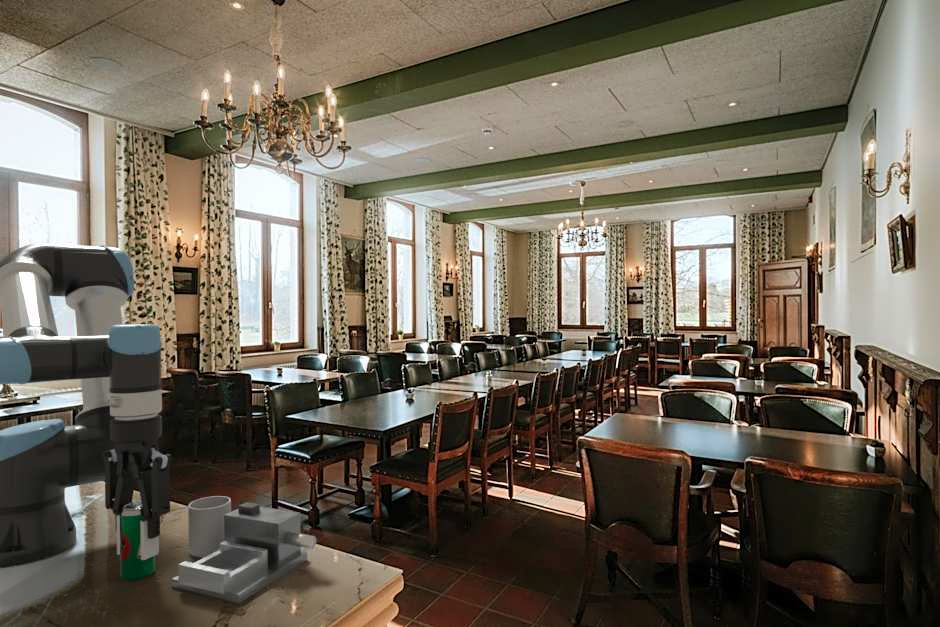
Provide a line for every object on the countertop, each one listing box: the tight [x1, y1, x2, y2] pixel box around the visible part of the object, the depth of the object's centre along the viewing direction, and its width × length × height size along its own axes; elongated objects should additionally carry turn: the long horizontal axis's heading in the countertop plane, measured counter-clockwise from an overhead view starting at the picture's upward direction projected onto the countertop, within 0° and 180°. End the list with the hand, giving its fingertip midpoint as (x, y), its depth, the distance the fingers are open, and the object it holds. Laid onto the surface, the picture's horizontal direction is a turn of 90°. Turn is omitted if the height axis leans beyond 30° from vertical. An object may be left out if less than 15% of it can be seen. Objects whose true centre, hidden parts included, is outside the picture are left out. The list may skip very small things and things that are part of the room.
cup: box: [187, 495, 232, 558], centre depth 104 cm, size 7×10×9 cm
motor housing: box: [171, 501, 317, 604], centre depth 93 cm, size 18×17×10 cm
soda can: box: [119, 500, 156, 582], centre depth 93 cm, size 5×5×12 cm
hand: (137, 553), depth 93 cm, fingers closed on soda can, 5 cm apart
